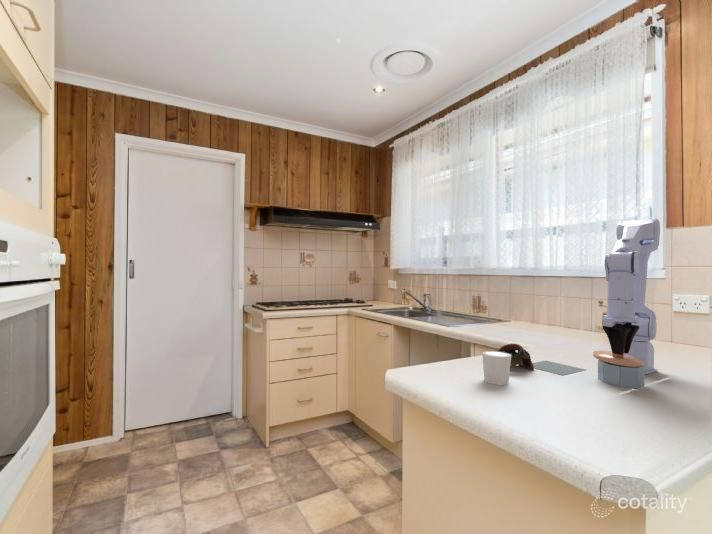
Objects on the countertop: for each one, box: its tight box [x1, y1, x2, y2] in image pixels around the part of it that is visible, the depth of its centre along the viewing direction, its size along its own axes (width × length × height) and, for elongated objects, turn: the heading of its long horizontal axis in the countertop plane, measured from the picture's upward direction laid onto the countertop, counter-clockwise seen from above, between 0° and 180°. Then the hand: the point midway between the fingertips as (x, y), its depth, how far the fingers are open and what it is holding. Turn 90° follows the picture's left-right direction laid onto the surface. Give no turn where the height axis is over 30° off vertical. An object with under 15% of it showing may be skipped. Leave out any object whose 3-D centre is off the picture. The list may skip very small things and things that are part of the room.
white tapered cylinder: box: [481, 350, 511, 385], centre depth 93 cm, size 7×7×7 cm
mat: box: [532, 360, 587, 376], centre depth 106 cm, size 12×12×1 cm
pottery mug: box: [497, 343, 535, 371], centre depth 105 cm, size 12×10×8 cm
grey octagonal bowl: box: [597, 359, 645, 390], centre depth 93 cm, size 9×9×5 cm
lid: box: [592, 348, 644, 367], centre depth 93 cm, size 10×10×4 cm
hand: (620, 353), depth 93 cm, fingers closed on lid, 2 cm apart
